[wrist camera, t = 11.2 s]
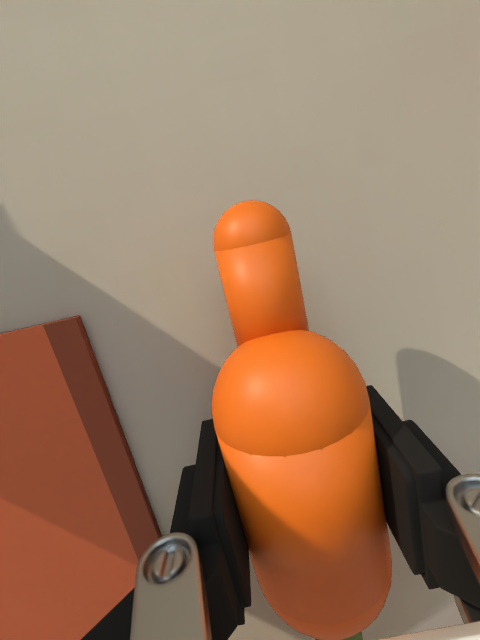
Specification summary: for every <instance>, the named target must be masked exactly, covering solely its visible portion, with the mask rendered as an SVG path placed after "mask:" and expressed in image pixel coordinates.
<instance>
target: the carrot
mask: <svg viewBox="0 0 480 640" xmlns="http://www.w3.org/2000/svg"><path fill="white" fill-rule="evenodd" d="M213 246H214V252H215V256H216V260H217V264H218V268H219V272H220V276H221V280H222V285H223V289H224V293H225V297H226V301H227V305H228V309H229V313H230V317H231V321H232V326H233V330H234V334H235V338H236V342H237V346H238V347H237V348H236V349H235V350H234V352H233V353H232V354H231V355H230V356H229V357H228V358H227V360H226V361H225V363H224V364H223V366H222V368H221V370H220V372H219V374H218V376H217V380H216V383H215V387H214V390H213V394H212V416H213V422H214V428H215V431H216V435H217V438H218V442H219V445H220V449H221V452H222V456H223V459H224V463H225V467H226V470H227V474H228V477H229V481H230V484H231V488H232V491H233V495H234V498H235V502H236V506H237V509H238V513H239V516H240V520H241V523H242V527H243V530H244V534H245V537H246V541H247V544H248V548H249V552H250V555H251V559H252V562H253V566H254V569H255V573H256V576H257V580H258V582H259V584H260V587H261V589H262V591H263V594H264V596H265V598H266V599H267V601H268V602H269V604H270V605H271V607H272V608H273V609H274V611H275V612H276V613H277V614H278V615H279V616H280V617H281V618H282V619H283V620H284V621H285V622H286V623H287V624H288V625H289V626H291V627H292V628H294V629H295V630H297V631H298V632H300V633H303V634H306V635H308V636H311V637H313V638H315V640H363V639H362V633H361V631H362V630H364V629H365V628H367V627H368V626H369V625H370V624H371V623H372V622H373V621H374V620H375V619H376V618H377V616H378V615H379V613H380V611H381V610H382V608H383V606H384V604H385V601H386V598H387V595H388V592H389V589H390V586H391V575H392V560H391V551H390V544H389V537H388V530H387V522H386V515H385V508H384V501H383V494H382V486H381V479H380V472H379V465H378V457H377V450H376V443H375V436H374V429H373V421H372V414H371V407H370V400H369V396H368V392H367V388H366V384H365V381H364V379H363V377H362V375H361V374H360V372H359V370H358V368H357V366H356V364H355V363H354V362H353V360H352V359H351V358H350V357H349V356H348V354H347V353H346V352H345V351H344V350H342V349H341V348H340V347H339V346H337V345H336V344H335V343H334V342H332V341H331V340H329V339H327V338H325V337H323V336H321V335H319V334H316V333H314V332H311V331H309V329H308V323H307V318H306V312H305V307H304V301H303V296H302V290H301V285H300V279H299V274H298V268H297V262H296V257H295V251H294V246H293V240H292V235H291V231H290V227H289V225H288V223H287V221H286V219H285V217H284V216H283V215H282V214H281V212H280V211H278V210H277V209H276V208H275V207H273V206H271V205H270V204H268V203H265V202H261V201H253V200H250V201H244V202H241V203H238V204H236V205H234V206H232V207H231V208H229V209H228V210H227V211H226V212H225V213H224V214H223V215H222V216H221V218H220V219H219V221H218V223H217V225H216V227H215V231H214V235H213Z"/></svg>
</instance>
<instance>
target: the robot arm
mask: <svg viewBox="0 0 480 640" xmlns="http://www.w3.org/2000/svg"><path fill="white" fill-rule="evenodd" d="M366 388H367V392H368V396H369V400H370V407H371V414H372V421H373V429H374V436H375V443H376V450H377V457H378V465H379V472H380V479H381V486H382V494H383V501H384V508H385V515H386V522H387V524H388V526H389V528H390V529H391V531H392V533H393V535H394V537H395V539H396V541H397V543H398V545H399V547H400V549H401V551H402V553H403V555H404V557H405V559H406V561H407V563H408V565H409V567H410V569H411V570H412V572H413V574H414V575H418V574H421V575H422V577H423V579H424V581H425V583H426V584H427V586H428V588H429V589H434V588H439V587H440V588H442V589H444V590H446V591H447V592H449V593H451V594H453V595H454V598H455V602H456V605H457V607H458V610H459V612H460V615H461V618H462V620H463V623H464V624H462V625H455V626H450V627H444V628H439V629H433V630H428V631H421V632H416V633H410V634H405V635H399V636H394V637H389V638H383V639H378V640H480V474H465V475H461V474H460V472H459V471H458V470H457V469H456V468H455V467H454V466H453V465H452V464H451V462H450V461H449V460H448V459H447V458H446V457H445V456H444V455H443V454H442V452H441V451H440V450H439V449H438V448H437V447H436V446H435V445H434V444H433V442H432V441H431V440H430V439H429V438H428V437H427V436H426V435H425V434H424V432H423V431H422V430H421V429H420V428H419V427H418V426H417V425H416V424H415V423H414V422H413V421H412V420H407V421H402V420H401V419H400V418H399V417H398V416H397V415H396V413H395V412H394V411H393V410H392V409H391V407H390V406H389V405H388V404H387V403H386V401H385V400H384V399H383V398H382V397H381V396H380V394H379V393H378V392H377V391H376V390H375V388H374V387H373V386H372V385H370V386H366ZM250 606H251V588H250V568H249V548H248V544H247V541H246V537H245V534H244V530H243V527H242V523H241V520H240V516H239V513H238V509H237V506H236V502H235V498H234V495H233V491H232V488H231V484H230V481H229V477H228V474H227V470H226V467H225V463H224V459H223V456H222V452H221V449H220V445H219V442H218V438H217V435H216V431H215V428H214V422H213V419H210V420H206V421H202V425H201V432H200V439H199V446H198V452H197V459H196V465H191V466H186V467H184V468H183V471H182V475H181V480H180V485H179V490H178V495H177V500H176V505H175V510H174V515H173V520H172V525H171V530H170V534H167V535H164V536H162V537H160V538H158V539H157V540H156V541H154V542H153V543H152V544H150V545H149V547H148V548H147V549H146V550H145V551H144V552H143V554H142V556H141V558H140V559H139V561H138V565H137V569H136V577H135V587H134V588H133V589H132V590H131V591H130V592H129V593H128V594H127V595H126V596H125V597H124V598H123V599H122V600H121V601H120V602H119V603H118V604H117V605H116V606H115V607H114V608H113V609H112V610H111V611H110V612H109V613H108V614H106V615H105V616H104V617H103V618H102V619H101V620H100V621H99V622H98V623H97V624H96V625H95V626H94V627H93V628H92V629H91V630H90V631H89V632H88V633H87V634H86V635H85V636H84V637H83V638H82V639H81V640H228V638H229V637H230V635H231V634H232V633H233V631H234V630H235V629H236V627H237V625H243V624H245V617H244V608H245V607H250Z"/></svg>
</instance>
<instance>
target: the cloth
mask: <svg viewBox="0 0 480 640" xmlns="http://www.w3.org/2000/svg"><path fill="white" fill-rule="evenodd" d="M160 537H162V536H161V534H160V531H159V528H158V526H157V523H156V520H155V518H154V515H153V512H152V510H151V507H150V504H149V501H148V499H147V496H146V493H145V491H144V488H143V485H142V483H141V480H140V477H139V475H138V472H137V469H136V466H135V464H134V461H133V458H132V456H131V453H130V450H129V448H128V445H127V442H126V440H125V437H124V434H123V431H122V429H121V426H120V423H119V421H118V418H117V415H116V413H115V410H114V407H113V405H112V402H111V399H110V396H109V394H108V391H107V388H106V386H105V383H104V380H103V378H102V375H101V372H100V370H99V367H98V364H97V361H96V359H95V356H94V353H93V351H92V348H91V345H90V343H89V340H88V337H87V335H86V332H85V329H84V326H83V324H82V321H81V318H80V316H74V317H70V318H66V319H61V320H57V321H53V322H48V323H44V324H40V325H35V326H31V327H27V328H22V329H18V330H14V331H9V332H5V333H1V334H0V640H81V639H82V638H83V637H84V636H85V635H86V634H87V633H88V632H89V631H90V630H91V629H92V628H93V627H94V626H95V625H96V624H97V623H98V622H99V621H100V620H101V619H102V618H103V617H104V616H105V615H106V614H108V613H109V612H110V611H111V610H112V609H113V608H114V607H115V606H116V605H117V604H118V603H119V602H120V601H121V600H122V599H123V598H124V597H125V596H126V595H127V594H128V593H129V592H130V591H131V590H132V589H133V588H134V587H135V577H136V569H137V565H138V561H139V559H140V558H141V556H142V554H143V552H144V551H145V550H146V549H147V548H148V547H149V545H150V544H152V543H153V542H154V541H156V540H157V539H158V538H160Z"/></svg>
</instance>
